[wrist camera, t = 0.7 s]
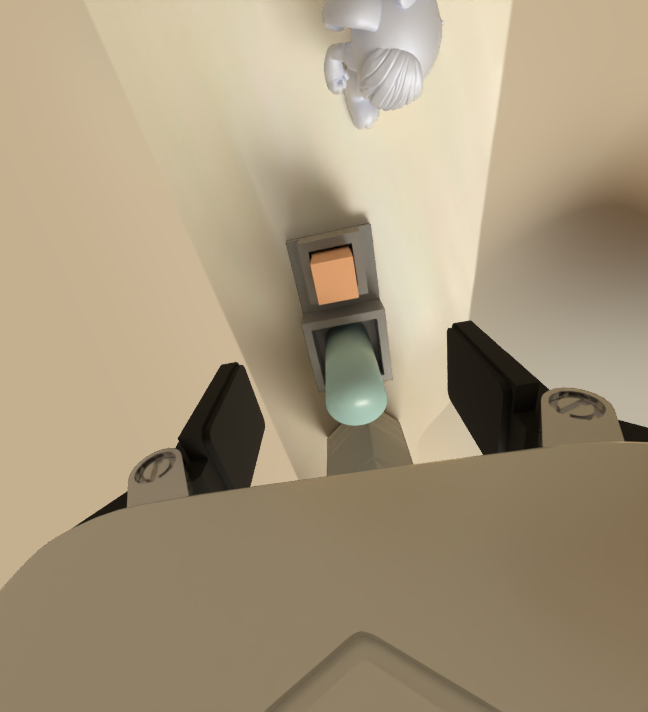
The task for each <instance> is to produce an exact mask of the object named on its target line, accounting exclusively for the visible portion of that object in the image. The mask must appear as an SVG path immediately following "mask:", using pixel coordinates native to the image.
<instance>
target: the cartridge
mask: <svg viewBox="0 0 648 712" xmlns="http://www.w3.org/2000/svg"><path fill="white" fill-rule="evenodd" d="M325 371H326V408H327V410H328V412H329V414H330V415H331V416H332V417H333V418H334V419H335V420H337V421H338V422H340V423H343V424H346V425H352V426H357V425H364V424H367V423H370V422H372V421H374V420H375V419H377V418H378V417H379V416H380V415H381V414H382V413H383V412H384V410H385V408H386V405H387V394H386V390H385V387H384V384H383V381H382V377H381V374H380V371H379V367H378V364H377V361H376V357H375V354H374V351H373V347H372V344H371V341H370V338H369V334H368V332H367V330H366V329H365V327H364V326H363V325H361V324H360V323H358V322H356V323H350V324H345V325H339V326H334V327H331V328H330V329H329V331H328V332H327V334H326V339H325Z"/></svg>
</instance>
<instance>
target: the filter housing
mask: <svg viewBox="0 0 648 712" xmlns="http://www.w3.org/2000/svg"><path fill="white" fill-rule="evenodd" d="M286 245H287V249H288V253H289V257H290V261H291V266H292V270H293V274H294V278H295V282H296V286H297V290H298V294H299V298H300V302H301V306H302V310H303V318H302V324H301V325H302V329H303V333H304V337H305V341H306V345H307V349H308V353H309V356H310V360H311V364H312V368H313V372H314V376H315V380H316V384H317V388H318V392H322V391H326V371H325V339H326V334H327V332H328V331H329V329H330V328H331V327H334V326H339V325H345V324H350V323H356V322H358V323H360V324H361V325H363V326H364V327H365V329H366V330H367V332H368V334H369V338H370V341H371V344H372V347H373V351H374V354H375V357H376V361H377V364H378V367H379V371H380V374H381V377H382V381H389V380H393V378H392V369H391V360H390V351H389V343H388V334H387V325H386V316H385V309H384V307H383V305H382V303H381V301H380V298H379V289H378V281H377V273H376V264H375V256H374V247H373V239H372V231H371V224H370V223H368V224H363V225H358V226H354V227H349V228H344V229H340V230H335V231H330V232H326V233H321V234H317V235H312V236H307V237H303V238H298V239H293V240H289V241H286ZM343 246H349V249H350V251H351V253H352V256H353V261H354V268H355V274H356V281H357V287H358V294H359V298H354V299H349V300H344V301H338V302H333V303H328V304H323V305H319V302H318V298H317V293H316V289H315V284H314V279H313V275H312V270H311V266H310V264H311V259H312V254H313V253H315V252H319V251H324V250H329V249H334V248H339V247H343Z"/></svg>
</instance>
